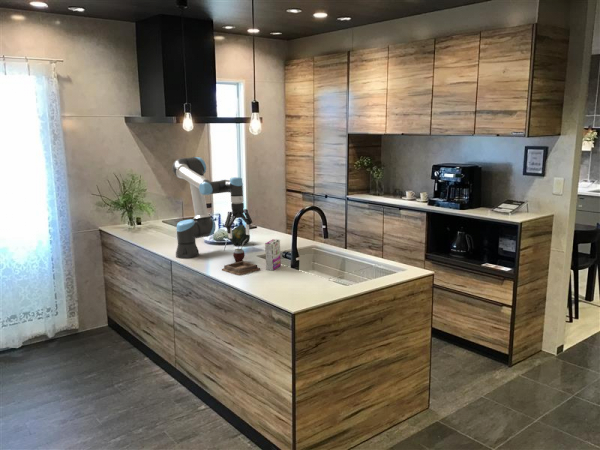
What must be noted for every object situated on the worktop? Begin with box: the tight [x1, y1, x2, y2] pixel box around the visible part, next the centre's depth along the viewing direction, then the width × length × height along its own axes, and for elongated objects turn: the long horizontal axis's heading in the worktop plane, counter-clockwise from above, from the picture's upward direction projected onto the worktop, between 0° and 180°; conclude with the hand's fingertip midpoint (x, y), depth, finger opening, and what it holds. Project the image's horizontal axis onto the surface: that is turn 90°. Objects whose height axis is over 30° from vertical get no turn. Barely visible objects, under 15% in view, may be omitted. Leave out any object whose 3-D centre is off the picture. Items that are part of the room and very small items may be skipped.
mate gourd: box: [232, 239, 247, 263], centre depth 323 cm, size 8×8×15 cm
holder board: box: [221, 260, 261, 276], centre depth 306 cm, size 16×16×3 cm
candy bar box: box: [264, 238, 282, 271], centre depth 308 cm, size 11×5×16 cm, turn 158°
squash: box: [229, 224, 251, 246], centre depth 373 cm, size 14×15×15 cm
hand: (239, 236), depth 321 cm, fingers open, 13 cm apart
